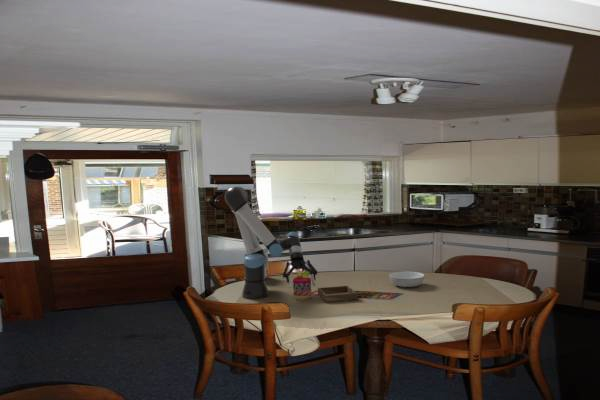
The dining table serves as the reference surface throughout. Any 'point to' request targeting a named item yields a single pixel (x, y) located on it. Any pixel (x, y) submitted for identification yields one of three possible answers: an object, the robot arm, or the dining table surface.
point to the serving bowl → (407, 278)
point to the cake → (302, 286)
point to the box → (337, 294)
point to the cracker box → (267, 263)
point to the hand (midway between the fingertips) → (302, 286)
